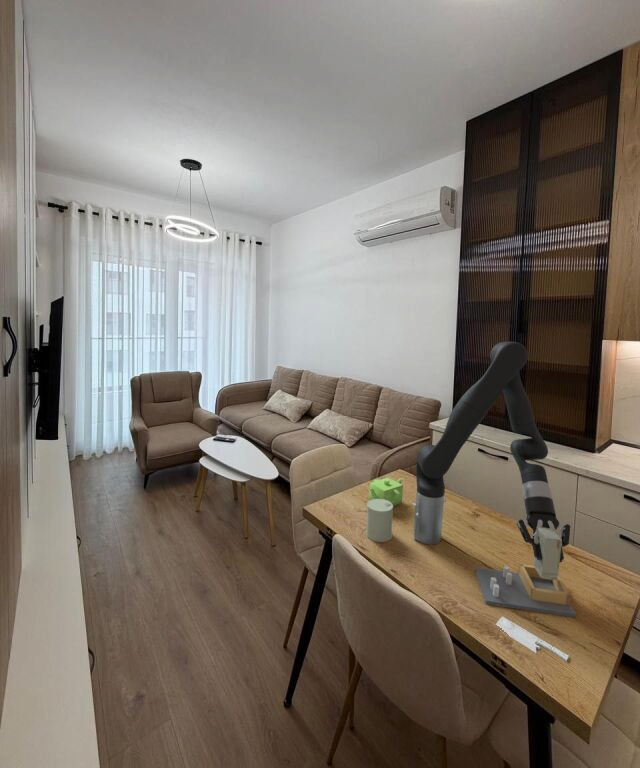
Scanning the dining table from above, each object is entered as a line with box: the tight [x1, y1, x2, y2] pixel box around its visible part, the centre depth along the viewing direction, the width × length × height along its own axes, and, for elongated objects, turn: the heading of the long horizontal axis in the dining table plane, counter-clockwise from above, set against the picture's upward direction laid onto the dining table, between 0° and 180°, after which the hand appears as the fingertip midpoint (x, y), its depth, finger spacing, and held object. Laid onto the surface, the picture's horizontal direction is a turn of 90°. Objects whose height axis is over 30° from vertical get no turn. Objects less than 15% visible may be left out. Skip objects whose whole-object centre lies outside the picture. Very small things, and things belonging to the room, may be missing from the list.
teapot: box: [367, 477, 405, 507], centre depth 153 cm, size 15×13×11 cm
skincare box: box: [533, 527, 562, 580], centre depth 103 cm, size 6×4×12 cm
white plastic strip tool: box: [495, 616, 570, 662], centre depth 89 cm, size 5×15×1 cm, turn 40°
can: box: [365, 499, 394, 543], centre depth 131 cm, size 9×9×12 cm
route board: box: [474, 563, 577, 618], centre depth 105 cm, size 22×14×4 cm, turn 79°
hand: (549, 560), depth 102 cm, fingers closed on skincare box, 4 cm apart
